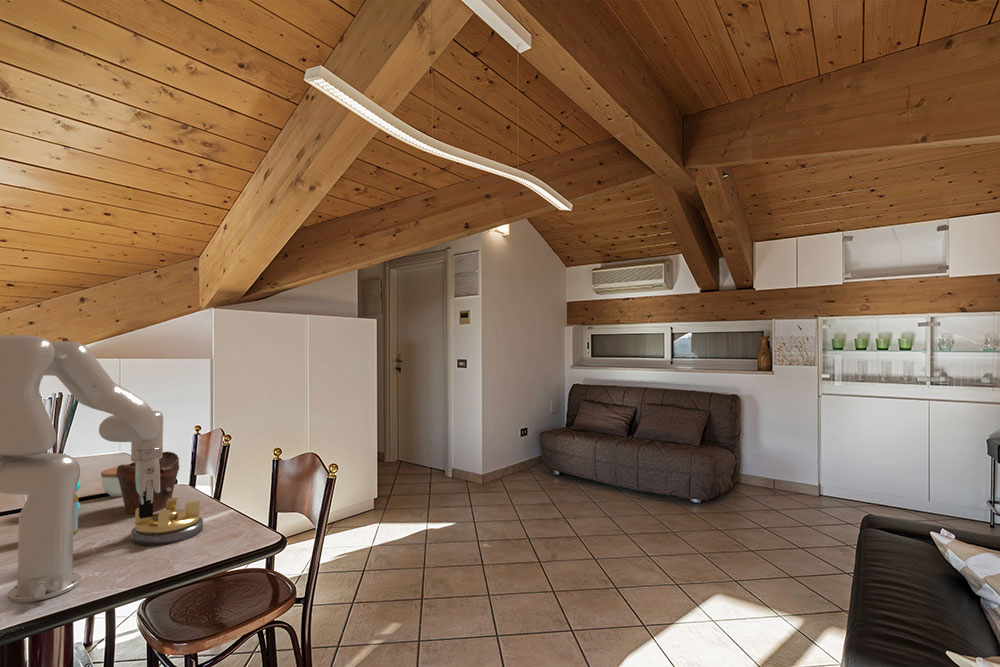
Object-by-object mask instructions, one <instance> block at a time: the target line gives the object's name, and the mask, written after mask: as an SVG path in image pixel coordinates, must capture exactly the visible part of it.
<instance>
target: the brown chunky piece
mask: <svg viewBox="0 0 1000 667" xmlns="http://www.w3.org/2000/svg"><path fill="white" fill-rule="evenodd" d="M159 465H160V493H158V494H157V493H156V492H155V491H154V490H153V512H156V511H161V510H164V509H166V502H167V500H168V498H173V494H174V491H175V490H174V489H175V485H176V482H177V480H176V479H177V477H178V474H179V470H180V458H179V456H178V454H176V452H172V451H163V454H162V458H161V459H159ZM116 467H117V472H116V477H118V480H119V484H120V488H121V492H122V496H121V497H122V502H123V504H124V509H125V512H126V513H127V514H130V515H131V514H133V515H135V510H136V509H137V508H139V504H141V503H140V495H139V494H138V492H137V490H136V483H135V471H136V462H133V461H132V462H131V463H127V464H124V465H122V464H120V465H117V466H116Z"/></svg>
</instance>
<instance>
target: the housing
mask: <svg viewBox="0 0 1000 667" xmlns="http://www.w3.org/2000/svg"><path fill="white" fill-rule="evenodd" d="M135 529H136V526H135V527H133V528H132V530H131V532H130V542H131V544H133V545H135V546H140V547H157V546H164V545H170V544H175V543H179V542H183V541H186V540H188V539H191V538H194V537H195V536H197V535H199V534H200V533H201V532H202V531H203V529H204V519H203V518H202V517H201V516H199V522H198V523H197V524H196V525H194V526H192V527H190V528H187V529H184V530H181V531H177V532H173V533H168V534H161V535H142V534H138V533H136V531H135Z"/></svg>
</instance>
